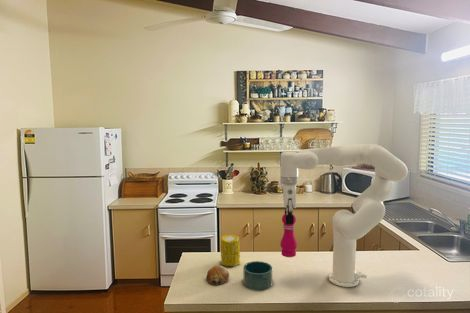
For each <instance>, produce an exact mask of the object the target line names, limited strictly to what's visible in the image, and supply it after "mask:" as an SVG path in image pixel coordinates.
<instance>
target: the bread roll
mask: <svg viewBox="0 0 470 313" xmlns="http://www.w3.org/2000/svg"><path fill="white" fill-rule="evenodd" d="M229 277H230V273H229V271H228V269H227V268H225V267H224V265H218V264H217V265H213V266H212V267H211V268H209V269H208V271H207V273H206V281H207V282H208V284H211V285H215V286H219V285H223V284H226V283H227V282H228V281H229Z"/></svg>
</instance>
